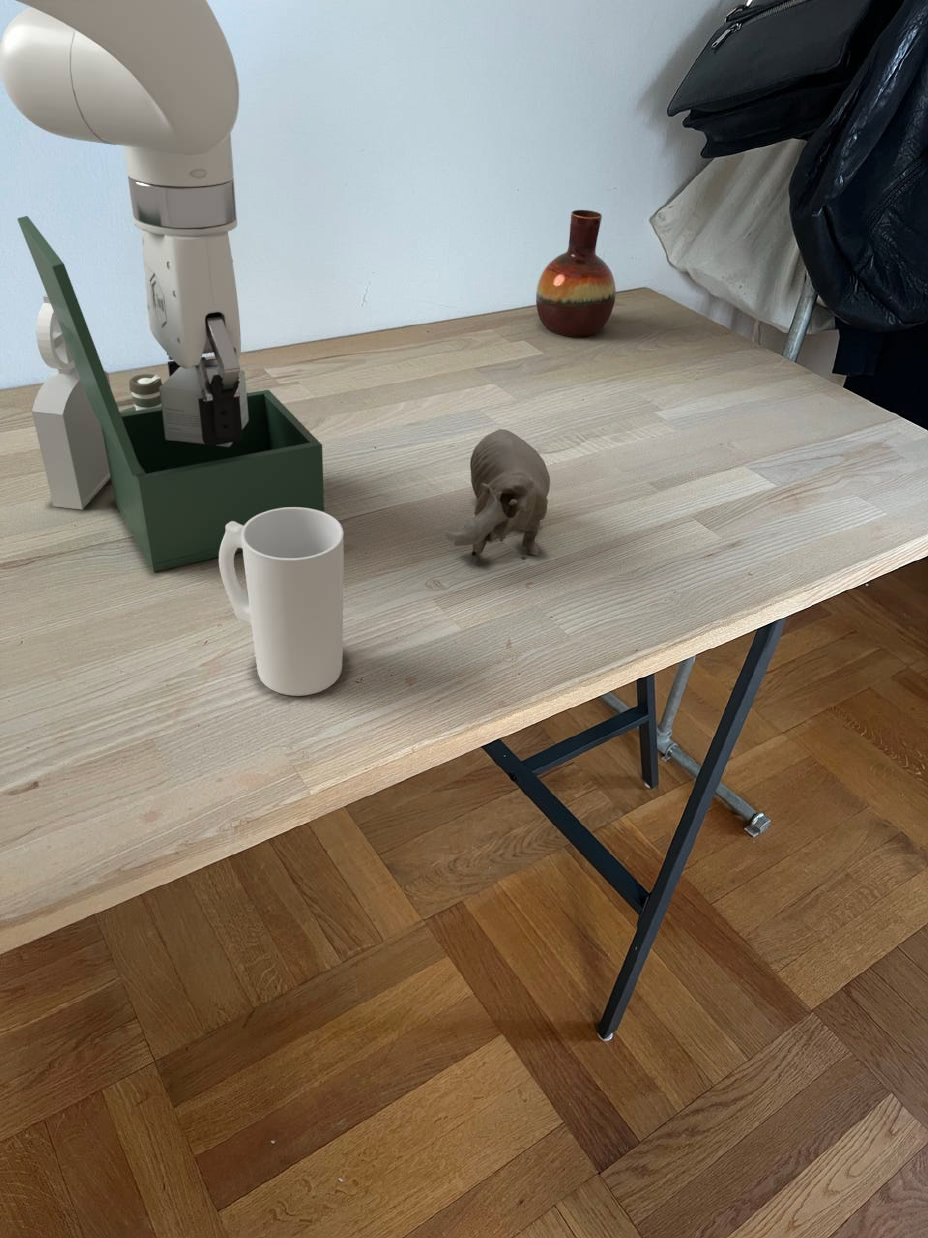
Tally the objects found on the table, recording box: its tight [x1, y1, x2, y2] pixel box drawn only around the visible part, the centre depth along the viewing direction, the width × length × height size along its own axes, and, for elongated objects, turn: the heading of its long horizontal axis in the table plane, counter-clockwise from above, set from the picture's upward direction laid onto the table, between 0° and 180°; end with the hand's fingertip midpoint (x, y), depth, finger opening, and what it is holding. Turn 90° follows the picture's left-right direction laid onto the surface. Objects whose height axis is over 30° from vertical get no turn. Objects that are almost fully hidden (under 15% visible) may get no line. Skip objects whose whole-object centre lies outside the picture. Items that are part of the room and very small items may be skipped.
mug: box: [218, 507, 345, 697], centre depth 66 cm, size 10×7×12 cm, turn 62°
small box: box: [159, 365, 248, 447], centre depth 79 cm, size 6×6×5 cm
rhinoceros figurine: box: [444, 428, 551, 567], centre depth 83 cm, size 8×14×15 cm
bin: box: [101, 389, 325, 573], centre depth 83 cm, size 16×13×9 cm
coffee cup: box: [119, 373, 163, 413], centre depth 99 cm, size 12×12×5 cm
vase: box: [535, 209, 617, 338], centre depth 128 cm, size 11×11×15 cm
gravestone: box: [31, 293, 112, 511], centre depth 84 cm, size 3×9×18 cm, turn 174°
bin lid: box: [17, 215, 142, 476], centre depth 71 cm, size 16×13×1 cm
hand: (206, 421), depth 79 cm, fingers closed on small box, 7 cm apart
